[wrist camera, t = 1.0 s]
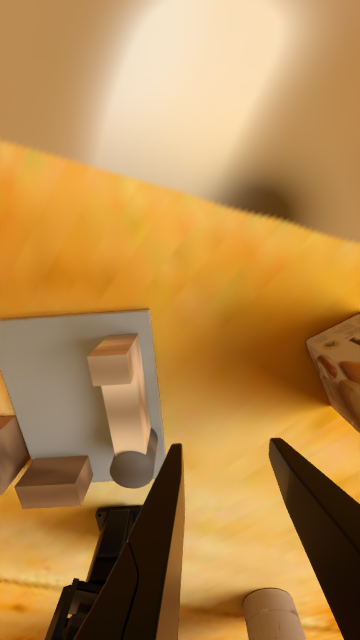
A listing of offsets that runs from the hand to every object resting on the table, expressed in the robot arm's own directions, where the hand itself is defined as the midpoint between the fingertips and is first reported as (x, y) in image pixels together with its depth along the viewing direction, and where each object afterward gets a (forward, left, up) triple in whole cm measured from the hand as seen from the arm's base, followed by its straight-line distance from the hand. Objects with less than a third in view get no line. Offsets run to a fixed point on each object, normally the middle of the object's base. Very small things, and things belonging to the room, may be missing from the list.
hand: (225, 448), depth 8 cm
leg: (-5, +7, -11) cm, 14 cm away
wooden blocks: (-11, +18, -12) cm, 25 cm away
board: (-6, +12, -12) cm, 18 cm away
